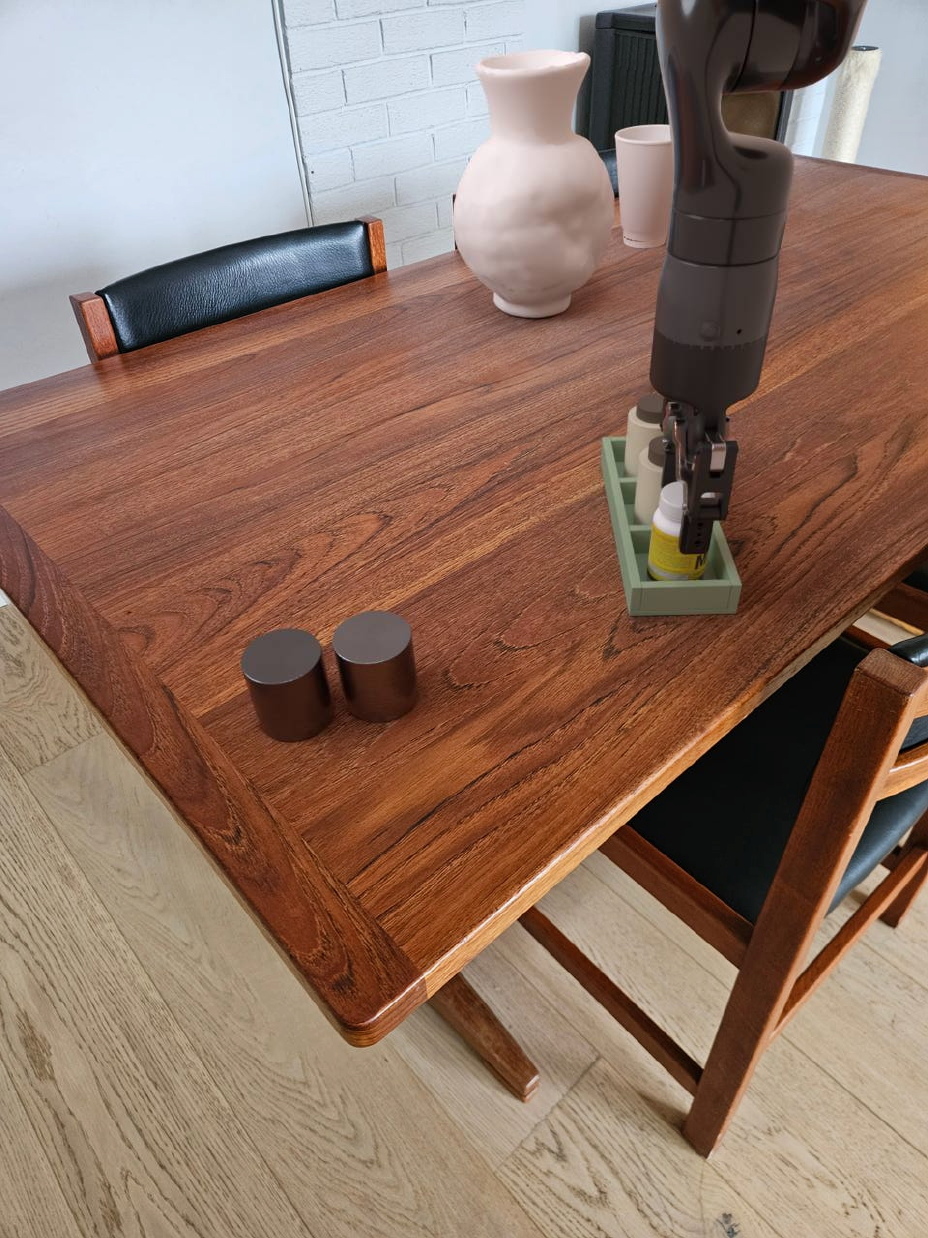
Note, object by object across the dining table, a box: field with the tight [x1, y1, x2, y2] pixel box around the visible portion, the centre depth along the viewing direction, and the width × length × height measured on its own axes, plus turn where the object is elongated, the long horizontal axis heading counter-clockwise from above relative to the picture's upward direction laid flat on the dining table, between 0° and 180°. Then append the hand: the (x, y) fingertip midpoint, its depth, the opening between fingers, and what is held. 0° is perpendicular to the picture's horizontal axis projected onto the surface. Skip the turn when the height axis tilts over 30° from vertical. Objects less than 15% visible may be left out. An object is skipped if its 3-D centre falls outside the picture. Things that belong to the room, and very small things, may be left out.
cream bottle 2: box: [633, 436, 695, 525], centre depth 73 cm, size 5×5×8 cm
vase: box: [452, 48, 615, 319], centre depth 109 cm, size 19×21×30 cm
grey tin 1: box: [239, 627, 336, 743], centre depth 59 cm, size 6×6×6 cm
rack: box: [599, 435, 743, 617], centre depth 75 cm, size 9×24×3 cm, turn 178°
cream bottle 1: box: [623, 393, 664, 478], centre depth 79 cm, size 5×5×8 cm
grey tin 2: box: [331, 609, 420, 723], centre depth 60 cm, size 6×6×6 cm
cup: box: [614, 124, 673, 249], centre depth 132 cm, size 12×12×16 cm
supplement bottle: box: [647, 482, 710, 581], centre depth 67 cm, size 5×5×8 cm
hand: (682, 519), depth 66 cm, fingers open, 8 cm apart
